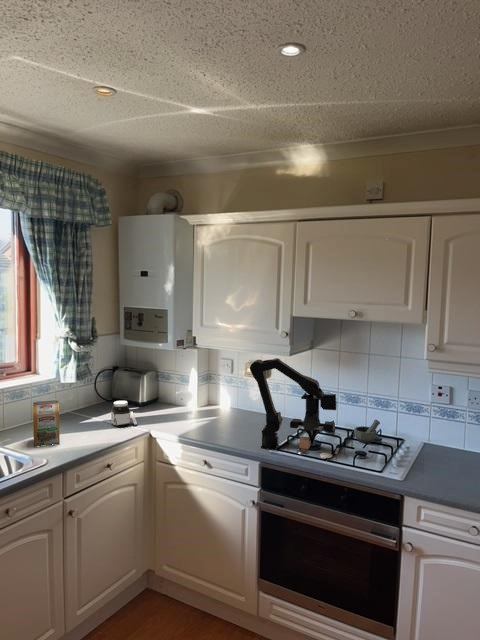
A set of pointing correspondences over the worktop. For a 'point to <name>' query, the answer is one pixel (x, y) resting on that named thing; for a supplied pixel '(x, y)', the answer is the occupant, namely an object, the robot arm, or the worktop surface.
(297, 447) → the selector rail
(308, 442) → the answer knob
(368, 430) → the mortar and pestle
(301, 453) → the steel puck
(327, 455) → the ceramic puck
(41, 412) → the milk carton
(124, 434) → the worktop surface
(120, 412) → the spread jar
